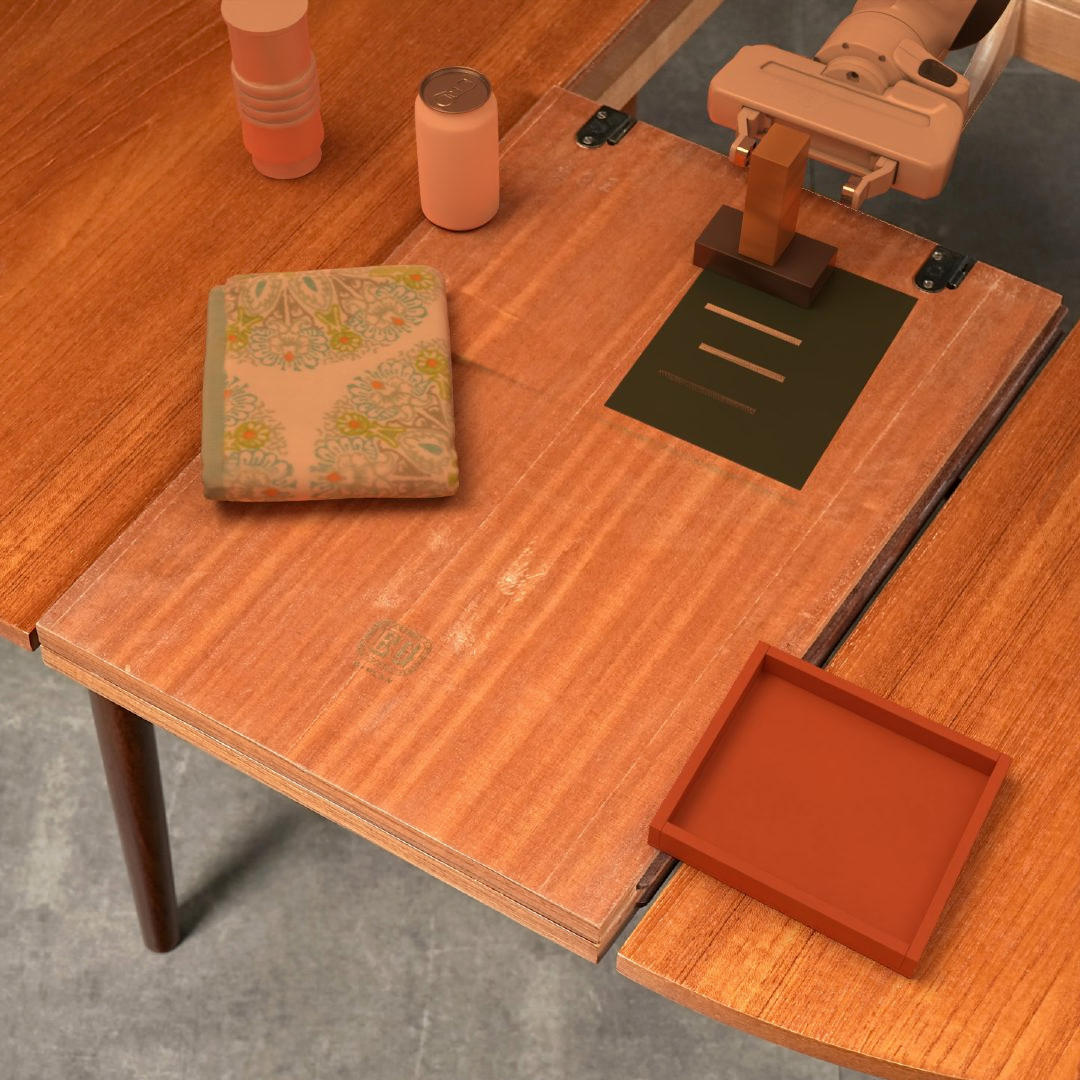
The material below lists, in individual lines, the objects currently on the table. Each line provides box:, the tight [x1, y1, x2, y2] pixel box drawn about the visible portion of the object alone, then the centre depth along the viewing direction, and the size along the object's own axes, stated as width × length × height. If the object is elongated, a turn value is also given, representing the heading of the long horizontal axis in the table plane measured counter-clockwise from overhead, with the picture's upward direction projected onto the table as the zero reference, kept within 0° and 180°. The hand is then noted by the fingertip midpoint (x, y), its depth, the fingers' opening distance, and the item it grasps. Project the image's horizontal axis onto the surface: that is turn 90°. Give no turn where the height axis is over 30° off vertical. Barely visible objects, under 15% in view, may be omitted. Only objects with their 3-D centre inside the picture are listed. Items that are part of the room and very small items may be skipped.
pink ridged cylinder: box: [220, 0, 326, 180], centre depth 137 cm, size 7×7×15 cm
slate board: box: [603, 265, 919, 491], centre depth 129 cm, size 16×22×1 cm
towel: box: [200, 264, 460, 503], centre depth 125 cm, size 18×21×5 cm
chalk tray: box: [646, 639, 1014, 979], centre depth 106 cm, size 18×16×2 cm
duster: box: [692, 123, 839, 309], centre depth 129 cm, size 10×5×12 cm, turn 60°
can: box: [414, 65, 500, 232], centre depth 135 cm, size 6×6×12 cm
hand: (792, 179), depth 130 cm, fingers open, 8 cm apart
